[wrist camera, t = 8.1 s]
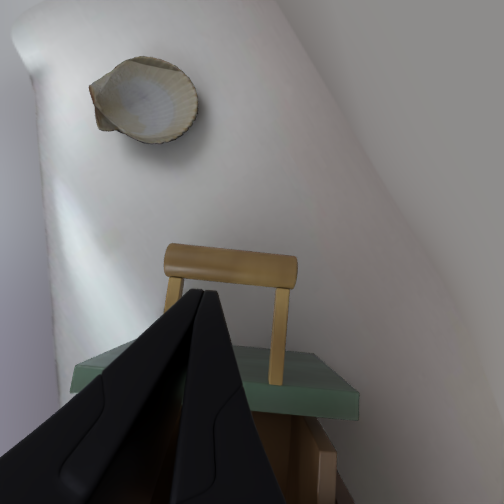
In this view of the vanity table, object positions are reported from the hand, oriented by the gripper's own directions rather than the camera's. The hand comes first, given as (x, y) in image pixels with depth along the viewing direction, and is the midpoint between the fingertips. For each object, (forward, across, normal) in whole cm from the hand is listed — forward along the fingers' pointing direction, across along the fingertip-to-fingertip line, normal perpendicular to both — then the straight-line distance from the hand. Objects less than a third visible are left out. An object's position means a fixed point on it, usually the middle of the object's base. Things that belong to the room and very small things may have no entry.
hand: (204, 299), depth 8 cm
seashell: (+19, +8, -3) cm, 21 cm away
